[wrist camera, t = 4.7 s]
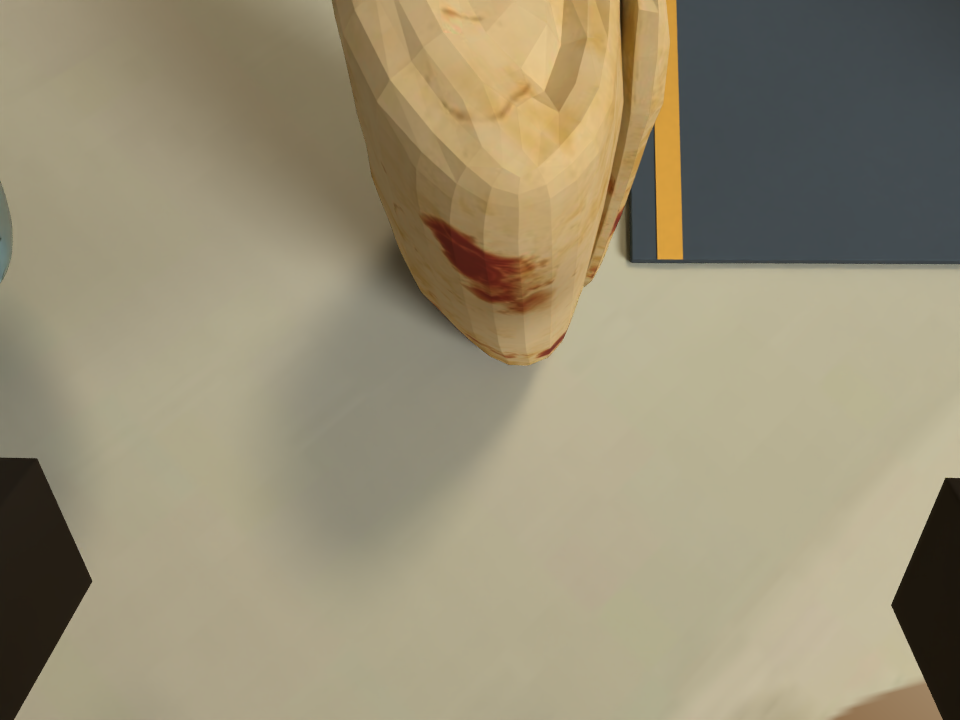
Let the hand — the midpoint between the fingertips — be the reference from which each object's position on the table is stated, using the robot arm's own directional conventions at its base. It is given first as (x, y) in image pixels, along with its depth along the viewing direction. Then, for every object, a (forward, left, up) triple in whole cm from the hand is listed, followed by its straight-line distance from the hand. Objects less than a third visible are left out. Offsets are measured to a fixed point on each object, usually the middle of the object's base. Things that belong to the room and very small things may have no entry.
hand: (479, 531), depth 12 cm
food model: (0, +10, -19) cm, 21 cm away
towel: (+14, +17, -19) cm, 29 cm away
